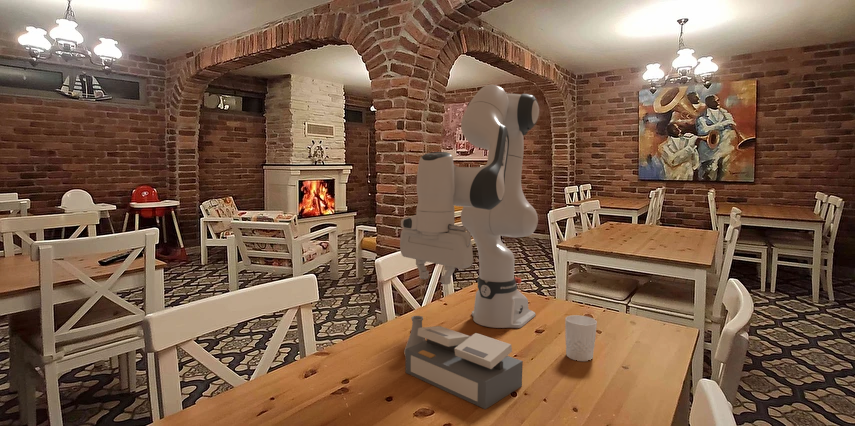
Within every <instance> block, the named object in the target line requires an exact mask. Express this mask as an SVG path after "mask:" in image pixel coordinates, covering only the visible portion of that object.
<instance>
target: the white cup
mask: <svg viewBox="0 0 855 426" xmlns="http://www.w3.org/2000/svg"><path fill="white" fill-rule="evenodd" d="M564 319H565V320H564V321H565V353H566V357H568V358H569V359H570V360H573V361H576V360H577V361H578V362H589V361H588V360H590V361H591V359H593V358H594V350H595V346H596V345H595V343H596V336H597V335H596V334H597V327H598V326H597V325H598V324H597V323H598V321H597V320H596V319H595V318H593V317H590V316H587V315H578V314H575V315H574V314H572V315H567V316H565V318H564Z"/></svg>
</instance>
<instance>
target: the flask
mask: <svg viewBox="0 0 855 426" xmlns="http://www.w3.org/2000/svg"><path fill="white" fill-rule="evenodd" d="M423 320H424V316H421V315H413V316H411V322H412V323H411V324H412V325H411V330H410V334H409V336H408V340H407V342H406V344H405V348H404V350H403V353H404V354H403V355H404V357H406V349H407V348H409V347H412V346H414V345H417V344H419V343H422V342H424V341H427V339H426V338H423V337H421V336H418V335H417V334H418V328H423Z"/></svg>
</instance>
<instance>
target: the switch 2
mask: <svg viewBox="0 0 855 426" xmlns="http://www.w3.org/2000/svg"><path fill="white" fill-rule="evenodd" d="M470 336H471V337H469V338H468V339H466V340H465V341H464V342H462V343H461V344H460V345H458V346H457V347H455V348H454V350H455V356H458V357H461V358H463V359H466V360H468V361H471V362H474V363H476V364H479V365H481V366H484V367H487V368H489V369H492V368H493V367H494V366H496V365H497V364H498V363H499V362H500V361H501V360H503V359H504V358H505V357H506V356H509V355H510V354H511V353H512V352H513V348H512V343H508V342H505V341H502V340H500V339H499V340H498V339H496V338H493V337H490V336H486V335H483V334H481V333H477V332H475V333H473V334H471V335H470Z"/></svg>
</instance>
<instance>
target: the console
mask: <svg viewBox="0 0 855 426" xmlns="http://www.w3.org/2000/svg"><path fill="white" fill-rule="evenodd" d="M457 346H458V345H456V346H449V347H448V346H445V345H442V344H440V343H437V342H434V341H431V340H429V339H426V341H424V342H422V343H419V344H417V345H414V346H412V347H409V348H407V349H406V356H405V373H406V374H408V375H410V376H412V377H414V378H417V379H418V380H421V381H423V382H425V383H428V384H430V385H432V386H434V387H436V388H438V389H440V390H442V391H445V392H447V393H449V394H451V395H454V396H456V397H457V398H460V399H462V400H464V401H467V402H469V404H470V403H471V404H473V405H475V406H477V407H479V408H482V409H484V410H486V409H488V408H490V407H491V406H493V405H495V404H496V403H497V402H499V401H501V400H502V399H504V398H505V397H507V396H508V395H511V394H513V392H515V391H517V390H518V389H520V388H521V387H523V365H524V364H523V362H524V361H523V360H521V359H518V358H515V357H512V356H509V355H507V356H506V357H505V358H504V359H503V360H501V361H500V362H499V363H498V364H497V365H496V366H494V367H493V368H492V369H489V368H487V367H484V366H481V365H479V364H476V363H474V362H471V361H468V360H466V359H463V358H461V357H458V356H455V350H454V348H455V347H457Z"/></svg>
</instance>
